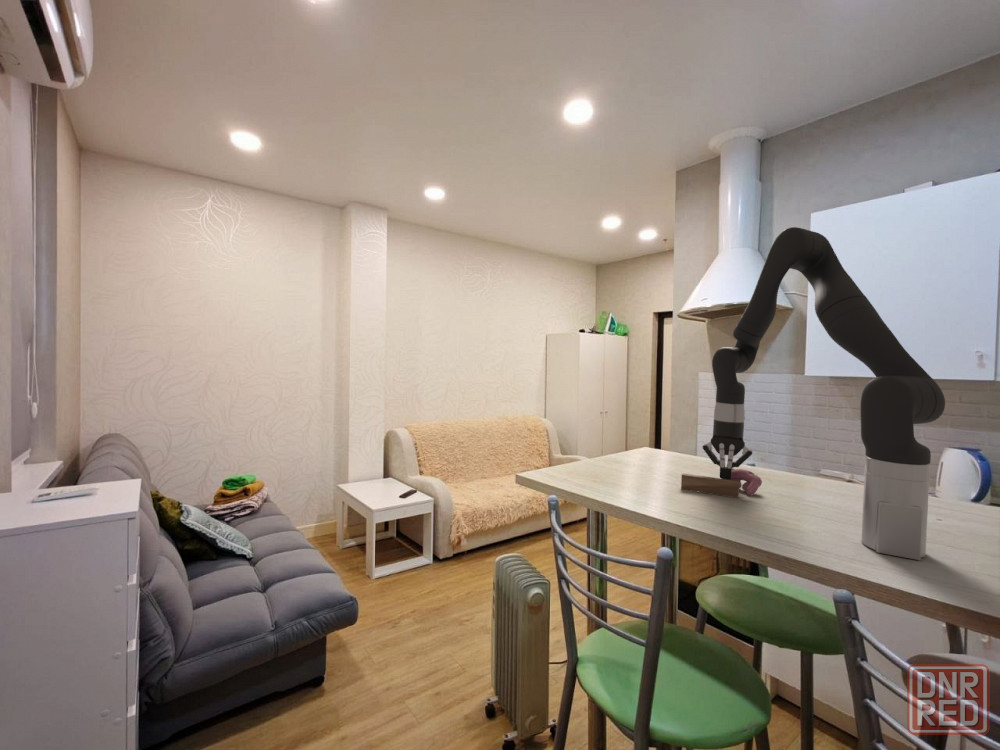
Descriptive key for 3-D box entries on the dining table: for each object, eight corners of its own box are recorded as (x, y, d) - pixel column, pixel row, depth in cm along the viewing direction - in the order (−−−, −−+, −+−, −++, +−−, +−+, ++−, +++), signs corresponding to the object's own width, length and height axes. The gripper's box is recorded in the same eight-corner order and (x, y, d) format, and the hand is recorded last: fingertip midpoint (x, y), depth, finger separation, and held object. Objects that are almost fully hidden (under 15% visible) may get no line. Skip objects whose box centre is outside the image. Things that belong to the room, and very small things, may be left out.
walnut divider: (738, 498, 115) (739, 482, 115) (681, 489, 122) (681, 474, 122) (738, 496, 117) (739, 481, 116) (682, 487, 124) (682, 473, 124)
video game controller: (758, 500, 118) (766, 476, 119) (748, 495, 116) (757, 470, 117) (725, 490, 127) (733, 468, 128) (716, 485, 125) (724, 462, 126)
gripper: (701, 418, 123) (697, 479, 123) (756, 423, 116) (752, 488, 117) (704, 415, 129) (701, 473, 130) (756, 420, 122) (752, 481, 123)
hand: (725, 480), depth 123 cm, fingers closed
